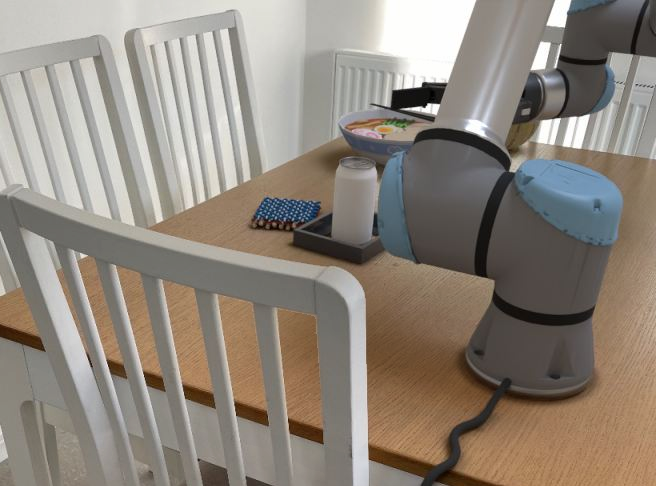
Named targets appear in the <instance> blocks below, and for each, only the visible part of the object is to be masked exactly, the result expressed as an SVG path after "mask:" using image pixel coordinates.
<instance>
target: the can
mask: <svg viewBox="0 0 656 486" xmlns="http://www.w3.org/2000/svg"><path fill="white" fill-rule="evenodd" d="M338 164H339V165H338V166H337V168H336V170H335V175H334V189H333V203H332V204H333V205H332V209H333V218H332V233H331V238H333V239H336V240H340V241H344V242H347V243H351V244H354V245H358V246H362V245H364V244H365V243H367V242H369V241H370V240H372V227H373V217H374V212H375V206H376V197H377V196H376V195H377V186H378V185H377V183H378V170H377V168H376V166H377V165H376V162H375V161H373V160H371V159H368V158H364V157H362V156H348V157H343V158H341V159H339V161H338Z"/></svg>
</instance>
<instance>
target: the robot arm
mask: <svg viewBox="0 0 656 486" xmlns="http://www.w3.org/2000/svg"><path fill="white" fill-rule="evenodd" d="M555 2H556V0H475V2H474V5H473V8H472V11H471V13H470V16H469V19H468V23H467V25H466V29H465V31H464V34H463V37H462V39H461V43H460V46H459V48H458V52H457V55H456V57H455V61H454V63H453V66H452V69H451V72H450V75H449V78H448V81H447V82H433V81H432V82H431V81H422V82H421V86H418V87H409V88H400V89H391V100H390V107H391V109H392V110H397V109H405V110H406V109H414V108H420V107H421V108H422V109H426V108H427V107H428V105H439V106H438V110H437V113H436V114H435V115H436V118H435V121H434V123H433V124H431V125H428V126H426V127H424V128H422V129H421V130H419V131H418V132H417V134H416V136H415V139H414V142H413V145H412V148H411V150H410V152H409V153H407V152H406V151H401V152H396V153H394V154H393V155H392V156H391V159H390V160H388V162H387V164H386V166H385V167H384V169H383V172H382V176H381V179H380V184H379V189H378V197H377V209H376V210H377V211H376V212H377V219H378V231H379V236H380V239H381V242H382V245H383V246H384V248H385V249H384V250H385V251H386V252H387V253H388V254H389V255H391V256H393V257H396V258H399V259H402V260H403V259H404V260H406V261H410V262H412V263H414V264H415V265H421V264H422V265H427V266H431V267H434V268H439V269H444V270H449V271H453V272H457V273H462V274H466V275H471V276H474V277H478V278H479V277H480V278H483V279H488V280H492V281H494V284H493V291H492V295H491V301H490V303H489V305H488V307H487V308H486V310H485V311H484V313H483V315H482V317H481V319H480V321H479V322H478V324H477V325H476V327H475V329H474V331H473V333H472V334H471V336H470V338H469V340H468V342H467V346H466V350H465V354H464V360H463V361H464V366H465V368H466V370H467V372H468V373H469V374H470V375H471V376H472V377H473V378H474V379H475V380H476V381H478V382H479V383H481V384H482V385H483V386H486V387H488V388H489V389H492V390H494V392H493V394H492V395H491V397H490V398H489V400H488V402H487V403H486V405H485V406H484V408H483V409H482V410H481V412H480V413H479V414H478V415H476V416H475V417H473V418H470V419H468V420H465V421H462V422H460V423H458V424H457V425H455V426H454V427H453V428H452V429H451V431H450V433H449V436H448V442H449V446H450V451H451V452H450V456H449V457H448V458H447V459H446V460H444V461H442V462H440V463H438V464H436V465H434V466H433V468H431V469H430V470H429V471H428V472H427V473H426V475H425V476H424V478H423V480H422V482H421V483H420V486H432V485H433V484H434V483H435V481H436V480H437V478H439V476H440V475H442V474H443V473H445V472H447V471H449V470H451V469H452V468H453V467H455V466H456V465H457V463H458V462H459V460H460V459H461V455H462V450H461V446H460V441H459V437H460V435H461V434H462V433H464V432H466V431H468V430H471V429H473V428H476V427H478V426H480V425H482V424H483V423H485V421H487V420H488V419H489V418H490V416H491V415H492V413H493V412H494V410H495V408H496V406H497V405H498V403H499V402H500V400H501V399H502V398H503V396H504V395H509V396H511V397H517V398H520V399H528V400H538V401H546V400H547V401H549V400H558V399H559V400H560V399H565V398H569V397H573V396H576V395H578V394H580V393H581V392H583V391H584V390H585V389H586V388H587V387H588V386H589V384H590V382H591V380H592V377H593V373H594V370H595V348H594V347H595V346H594V331H593V316H594V313H595V309H596V306H597V302H598V299H599V296H600V291H601V289H602V286H603V285H602V284H603V281H604V278H605V273H606V270H607V267H608V263H609V260H610V258H611V257H610V256H611V253H612V249H613V246H614V244H615V243H616V241H617V239H618V237H619V225H620V223H621V217H622V211H623V207H624V199H623V194H622V192H621V190H620V188H619V187H618V186H617V185H616V184H615V183H614V182H613V181H612V180H610V178H608V177H607V176H605V175H603V174H601V173H600V172H598V171H596V170H593V169H591V168H589V167H586V166H583V165H580V164H577V163H575V162H570V161H566V160H561V159H554V158H553V159H551V160H549V159H546V158H532V159H528V160H525V161H523V162H521V164H520V165H519V166H518V168H517V169H516V170H515V172H513V171H510V169H511V166H512V163H513V162H512V161H513V159H512V156H511V154H510V153H509V150H507V149H506V147H505V141H506V138H507V136H508V133H509V130H510V127H511V125H516V124H524V123H528V122H533V123H534V124H539V125H540V123H541V121H549V120H556V119H557V120H558V119H567V118H581V117H584V116H588V115H592V114H596V113H599V112H601V111H603V110H605V109H606V108H607V107H608V105H609V104H610V102H611V101H612V99H613V97H614V95H615V91H616V84H615V78H616V76H615V72H614V71H613V69H612V68H611V67H610V66H609V65H608V64H607V63H608V58H609V54H610V53H615V54H624V55H633V56H641V57H648V58H656V0H570V3H569V6H568V10H567V11H566V21H565V24H564V30H563V34H562V39H561V45H560V49H559V54H558V58H557V63H556V67H555V68H554V67H550V68H549V67H548V68H541V69H532V67H533V65H534V63H535V59H536V56H537V53H538V50H539V48H540V44H541V41H542V39H543V36H544V34H545V30H546V28H547V25H548V21H549V19H550V16H551V13H552V11H553V8H554V5H555ZM539 122H540V123H539Z"/></svg>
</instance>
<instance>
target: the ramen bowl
mask: <svg viewBox="0 0 656 486" xmlns="http://www.w3.org/2000/svg"><path fill="white" fill-rule="evenodd" d="M369 105H370V106H374V107H377V108H367V109H360V110H353V111H351V112H348V113H345V114H343V115H341V116H340V118H339V119H338V120H337V124H338V128H339V130H340V132H341V135H342V137H343V138H344V139H345V142H347V144H348V145H349V147H350V148H351V150H353V152H354V153H355V154H357V156H358V157H364V158H368V159H371V160H373V161H375V162H376V165H375V166H378V167H382V168H385V166H386V164H387V162H388V160H390V159H391V156H392V155H393V154H394V153H396V152H401V151H406V152H407V153H409V152H410V150H411V148H412V145H413V142H414V139H415V136H416V134H417V132H418V131H419V130H421V129H422V128H424V127H426V126H428V125H431V124H433V123H434V121H435V118H436V115H437V114H434V113H431V112H425V111H420V110H416V109H406V108H405V109H397V110H392V109H391V106H387V105H381V104H377V103H373V102H371V103H369Z"/></svg>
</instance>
